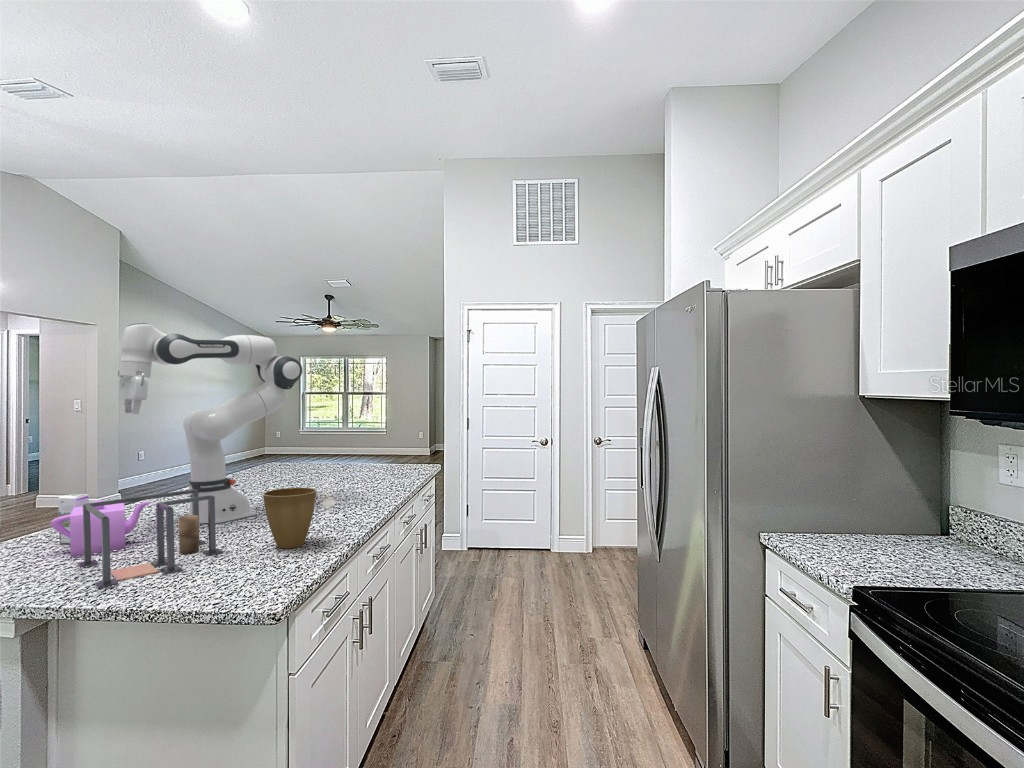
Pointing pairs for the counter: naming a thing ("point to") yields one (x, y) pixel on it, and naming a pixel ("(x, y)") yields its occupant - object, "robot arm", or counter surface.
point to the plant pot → (290, 514)
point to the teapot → (98, 527)
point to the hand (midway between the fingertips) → (131, 413)
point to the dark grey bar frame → (160, 532)
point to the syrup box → (69, 510)
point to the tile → (134, 571)
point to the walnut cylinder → (188, 534)
